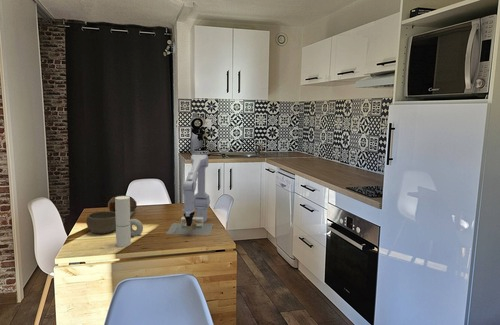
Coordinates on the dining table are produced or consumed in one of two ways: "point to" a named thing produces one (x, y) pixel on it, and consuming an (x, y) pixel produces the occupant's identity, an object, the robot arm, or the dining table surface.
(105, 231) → the bowl
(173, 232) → the metal bar
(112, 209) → the clay pot
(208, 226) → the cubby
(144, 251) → the dining table surface
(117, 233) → the cylindrical container
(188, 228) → the rake
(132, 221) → the donut
